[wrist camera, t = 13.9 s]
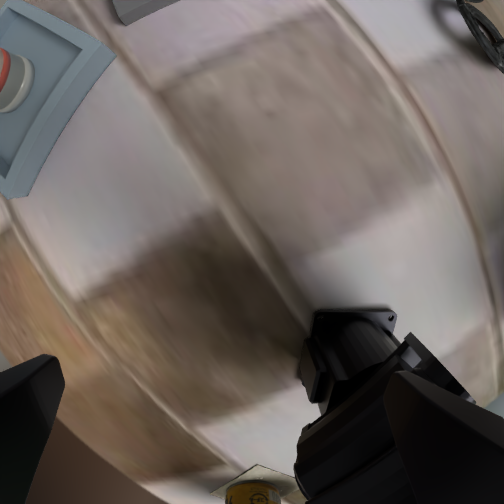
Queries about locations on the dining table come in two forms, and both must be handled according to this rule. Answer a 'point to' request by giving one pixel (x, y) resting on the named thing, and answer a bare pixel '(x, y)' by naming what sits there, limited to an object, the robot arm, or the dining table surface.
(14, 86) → the cylinder
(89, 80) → the tray
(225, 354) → the dining table surface
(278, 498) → the condiment
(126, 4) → the fuse holder
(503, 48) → the milk frother
